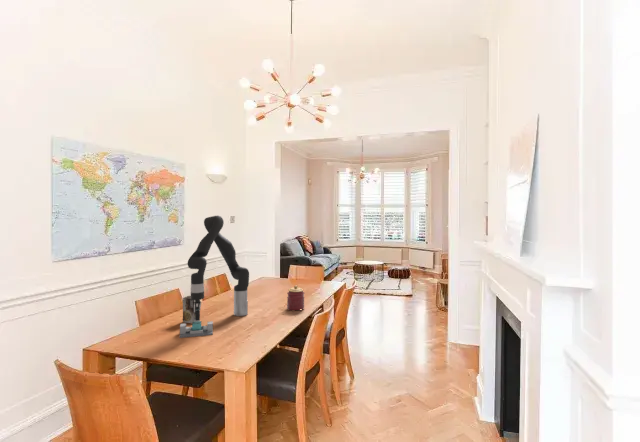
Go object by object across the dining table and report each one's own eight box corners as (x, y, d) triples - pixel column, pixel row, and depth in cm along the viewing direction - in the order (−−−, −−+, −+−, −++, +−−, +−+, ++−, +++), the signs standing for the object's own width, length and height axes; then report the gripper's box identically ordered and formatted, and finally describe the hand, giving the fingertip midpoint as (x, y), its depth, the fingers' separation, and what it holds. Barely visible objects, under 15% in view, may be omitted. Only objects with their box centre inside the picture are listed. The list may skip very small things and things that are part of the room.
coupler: (201, 329, 204) (201, 321, 204) (201, 332, 199) (201, 323, 199) (192, 330, 202) (192, 321, 202) (192, 332, 197) (192, 324, 197)
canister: (283, 309, 252) (284, 286, 251) (291, 305, 264) (292, 283, 263) (299, 311, 247) (300, 287, 246) (307, 307, 259) (307, 284, 259)
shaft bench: (212, 328, 209) (212, 319, 209) (212, 334, 198) (212, 325, 198) (181, 330, 203) (181, 322, 203) (179, 337, 192) (179, 328, 192)
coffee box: (200, 321, 223) (200, 296, 222) (193, 324, 217) (194, 298, 216) (189, 319, 226) (189, 295, 225) (182, 322, 220) (182, 297, 219)
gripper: (204, 293, 194) (204, 321, 195) (204, 287, 208) (204, 314, 208) (190, 294, 192) (190, 322, 192) (191, 288, 206) (191, 315, 206)
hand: (197, 318), depth 200 cm, fingers open, 8 cm apart
